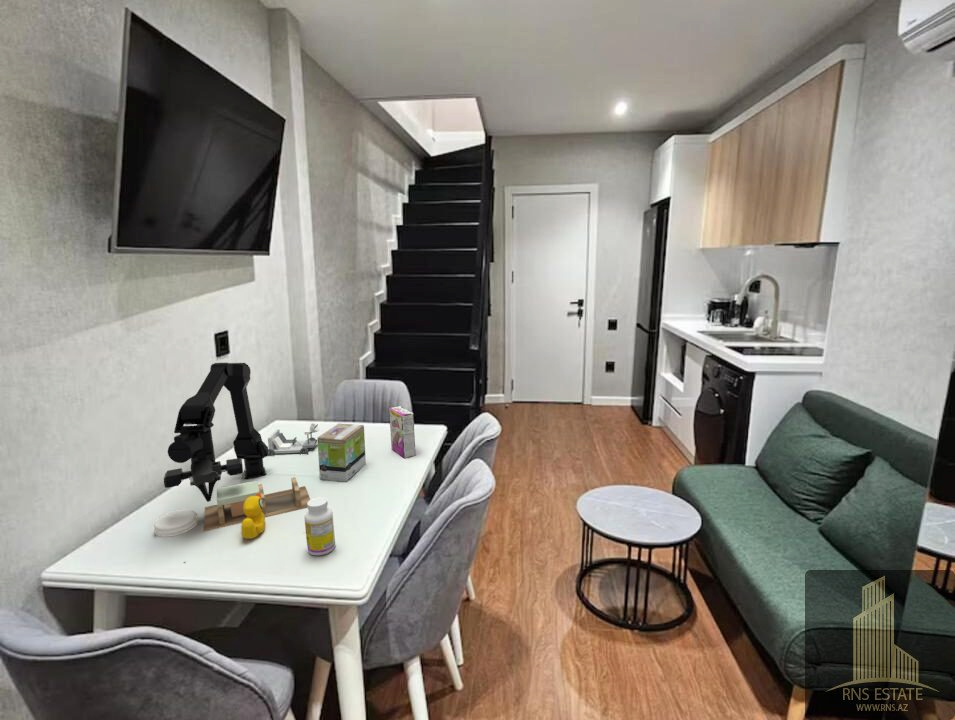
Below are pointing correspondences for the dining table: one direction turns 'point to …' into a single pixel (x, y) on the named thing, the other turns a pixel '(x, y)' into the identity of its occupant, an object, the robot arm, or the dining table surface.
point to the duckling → (253, 517)
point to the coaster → (175, 522)
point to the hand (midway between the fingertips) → (208, 500)
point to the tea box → (341, 452)
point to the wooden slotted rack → (271, 506)
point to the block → (237, 508)
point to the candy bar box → (402, 431)
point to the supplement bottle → (319, 527)
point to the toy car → (291, 443)
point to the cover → (236, 493)
